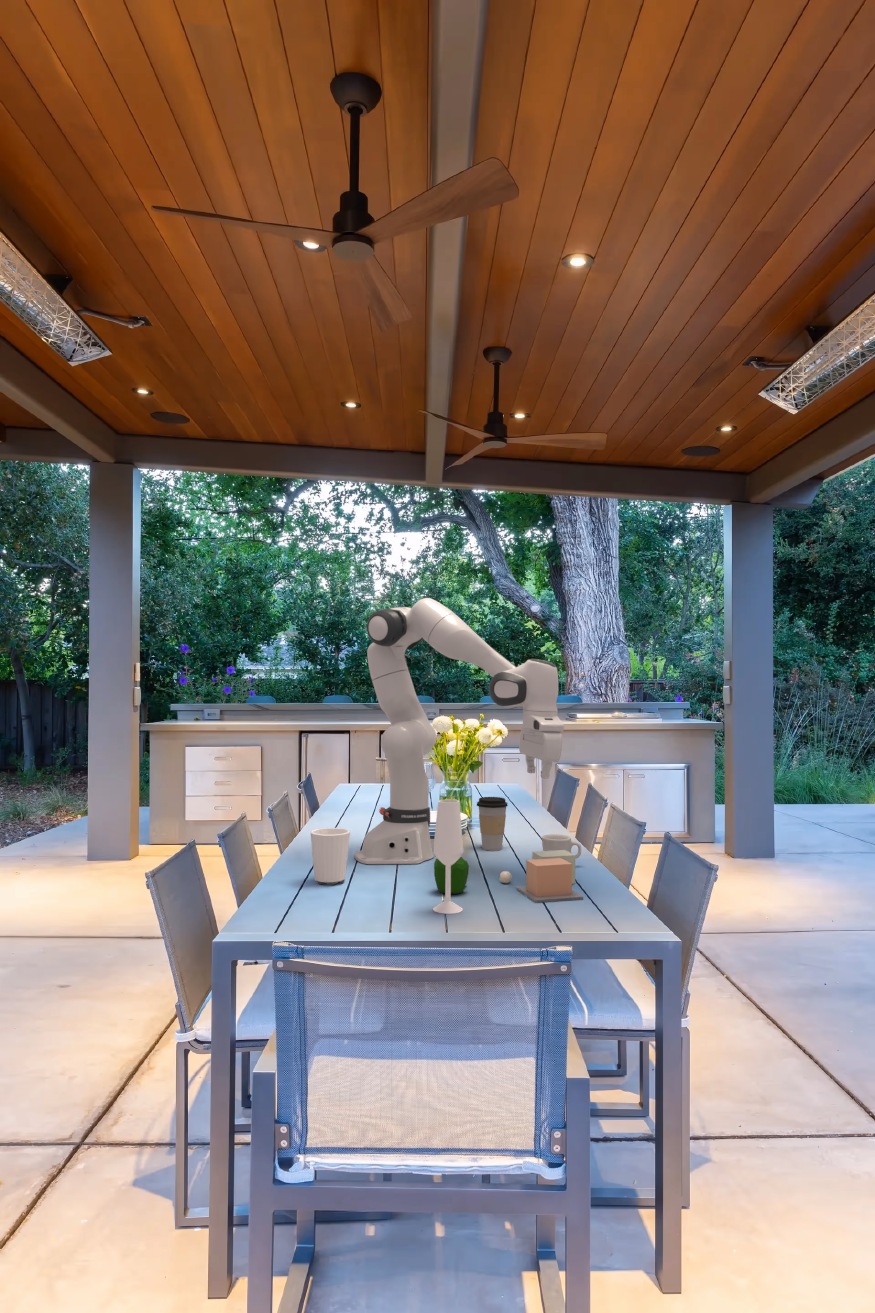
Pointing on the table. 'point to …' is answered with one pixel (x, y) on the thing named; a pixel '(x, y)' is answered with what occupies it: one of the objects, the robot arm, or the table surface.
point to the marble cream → (505, 877)
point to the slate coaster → (549, 898)
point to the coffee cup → (492, 821)
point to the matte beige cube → (557, 854)
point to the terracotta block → (549, 877)
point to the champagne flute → (448, 847)
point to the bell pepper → (452, 875)
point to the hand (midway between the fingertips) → (537, 775)
